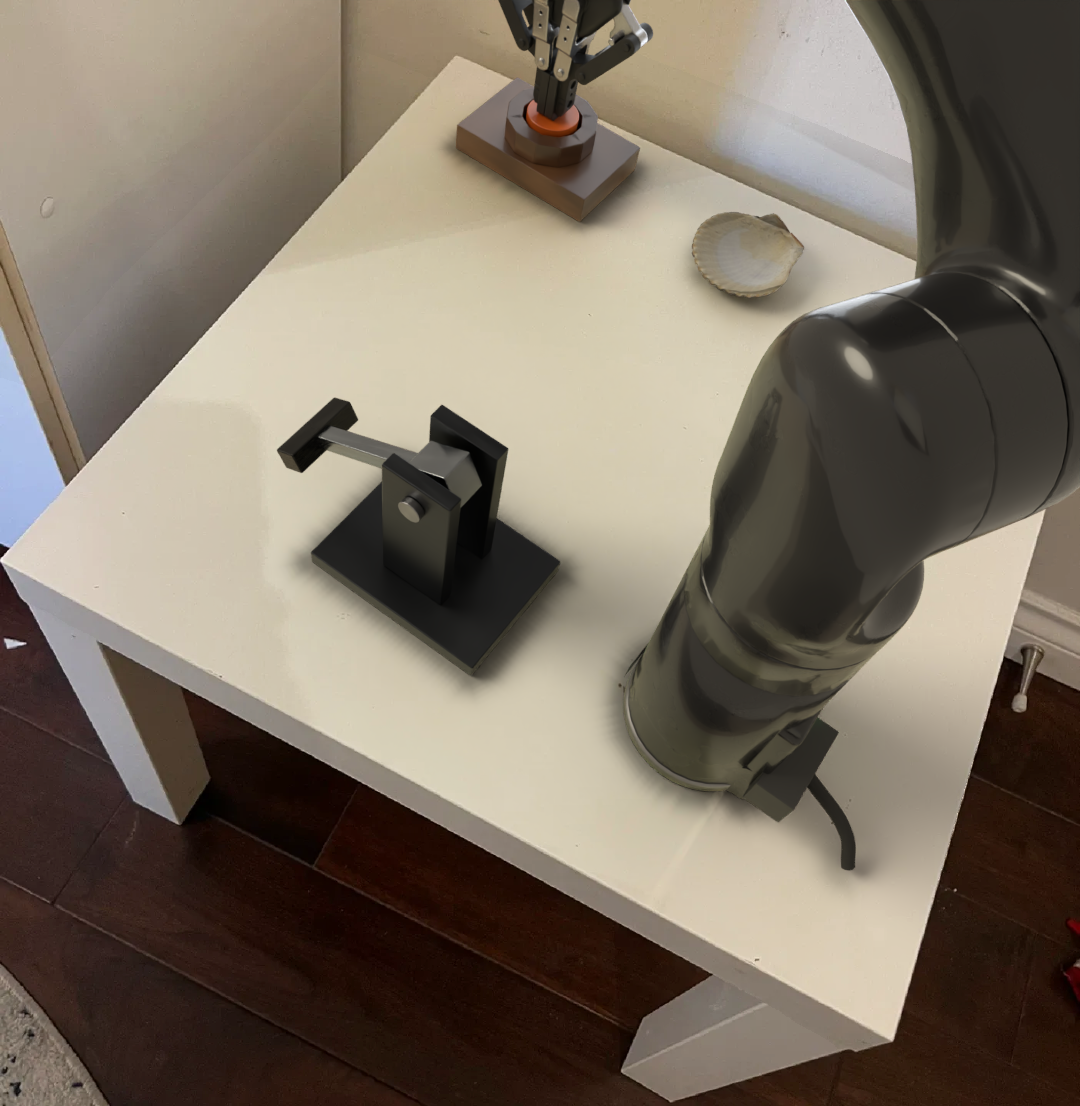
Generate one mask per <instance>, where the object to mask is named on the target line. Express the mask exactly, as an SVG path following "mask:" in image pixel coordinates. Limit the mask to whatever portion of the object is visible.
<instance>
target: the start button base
mask: <svg viewBox="0 0 1080 1106" xmlns="http://www.w3.org/2000/svg"><path fill="white" fill-rule="evenodd" d="M533 92H534V85H532V84H530V83H529V82H527V81H525V80H523V79H522V78H520V77H515V78H514V79H513V80H511V81H510V82H509V83H507V84H506V85H505V86H504V87H503V88H501V89H500V90H499V91H497V92H496V93H495V94H494V95H492V97H490V98H489V99H487V100H486V101H485V102H484V103H482V104H481V105H480V106H478V108H476V109H475V110H473V112H471V113H470V114H469V115H467V116H466V117H465V118H463V119H462V120H461V121H460V122H459V123H457V124H456V136H455V137H456V138H455V149H457V150H459V151H460V152H462V153H463V154H465V155H467V156H469V157H470V158H472V159H473V160H474V161H477V162H478V163H480V164H482V165H484V166H486V167H487V168H488V169H490V170H492V171H493V172H495V173H497V174H498V175H500V176H502V177H503V178H505V179H507V180H508V181H511V182H512V183H513V184H515V185H517V186H519V188H522V189H523V190H525V191H527V192H528V193H530V194H533V195H534V196H536V197H537V198H539V199H540V200H542V201H544V202H545V203H547V204H549V205H551V206H552V207H554V208H555V209H557V210H559V211H561V212H562V213H564V214H566V215H567V216H568V217H570V218H572V219H574V220H576V221H577V222H579V223H581V222H582V221H583V220H584V219H585V218H586V217H587V216H588V215H589V214H590V213H591V212H592V211H594V209H595V208H596V207H597V206H598V205H600V203H602V202H603V200H605V199H606V198H607V197H608V196H609V195H610V194H611V193H612V192H613V191H614V190H615V189H616V188H617V187H619V185H620V184H621V183H622V182H624V181H625V180H626V179H627V178H628V177H629V176H630V175H631V174H632V173H633V172H635V170H636V166H637V162H638V159H639V154H640V152H641V146H638V145H637V144H635V143H634V142H632V141H630V140H628V139H626V138H625V137H622V136H621V135H619V134H617V133H616V132H615V131H612V130H611V129H609V128H607V127H606V126H604V125H601V124H600V123H598V121H599V119H598V118H599V116H598V114H597V112H596V111H595V110H594V108H593V107H592V105H591V104H590V103H589V101H588V100H587V99H585V98H583V97H581V96H580V95H578V94H576V96H575V102H574V106H575V107H576V108H577V110H578V113H579V121H578V127H577V131H576V132H575V133H574V134H573V135H568V136H563V137H553V136H547V135H542V134H540V133H538V132H537V131H535V130H533V129H531V128H530V127H529V126H528V125H527V123H526V114H527V108H528V105H529V104H530V102H531V101H533V100H534V97H533Z"/></svg>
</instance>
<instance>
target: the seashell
mask: <svg viewBox="0 0 1080 1106" xmlns="http://www.w3.org/2000/svg"><path fill="white" fill-rule="evenodd" d="M691 250H692V252H691V255H692V257H693V258H694V259H693V262H694V264H695V265H696V266H697V270H698V272H699V273H701V276H702V278H703V279H705V280H707V281H708V284H709V285H711V286H715V288H716V289H717V290H718V291H721V292H725V294H728V295H734V296H736V297H738V298H741V297H744V298H746V299H750V298H760V297H763V296H769V295H770V294H775V293H776V292H777V291H778V290H779V289H780V288H782V287H783V286H784V285H785V283H786V281H787V280H788V278H789V275H790V274H791V270H792V268H793V266H794V265H795V264H796V263H797V262H798V260H799V258H800V257H801V256H802V255H803V254H804V251H805V246H804V245H803V243H802V242H801V241H800V240H799V239H798V237H797V236H795V235H794V234H793V232H791V231H790V230H789V228H788V226H787V224H786V223H785V222H784V221H783V219H781V217H780V216H779V215H778V214H777V213H770V214H765V215H763V216H759V215H753V214H749V213H742V212H738V211H728V212H727V211H726V212H724V211H723V212H720V213H716V214H714V215H712V216H710V217H709V218H707V219H705V220H704V221H703V222H702V223H700V226H698V228H697V230H696V232H695V233H694V237H693V239H692V244H691Z"/></svg>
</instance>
